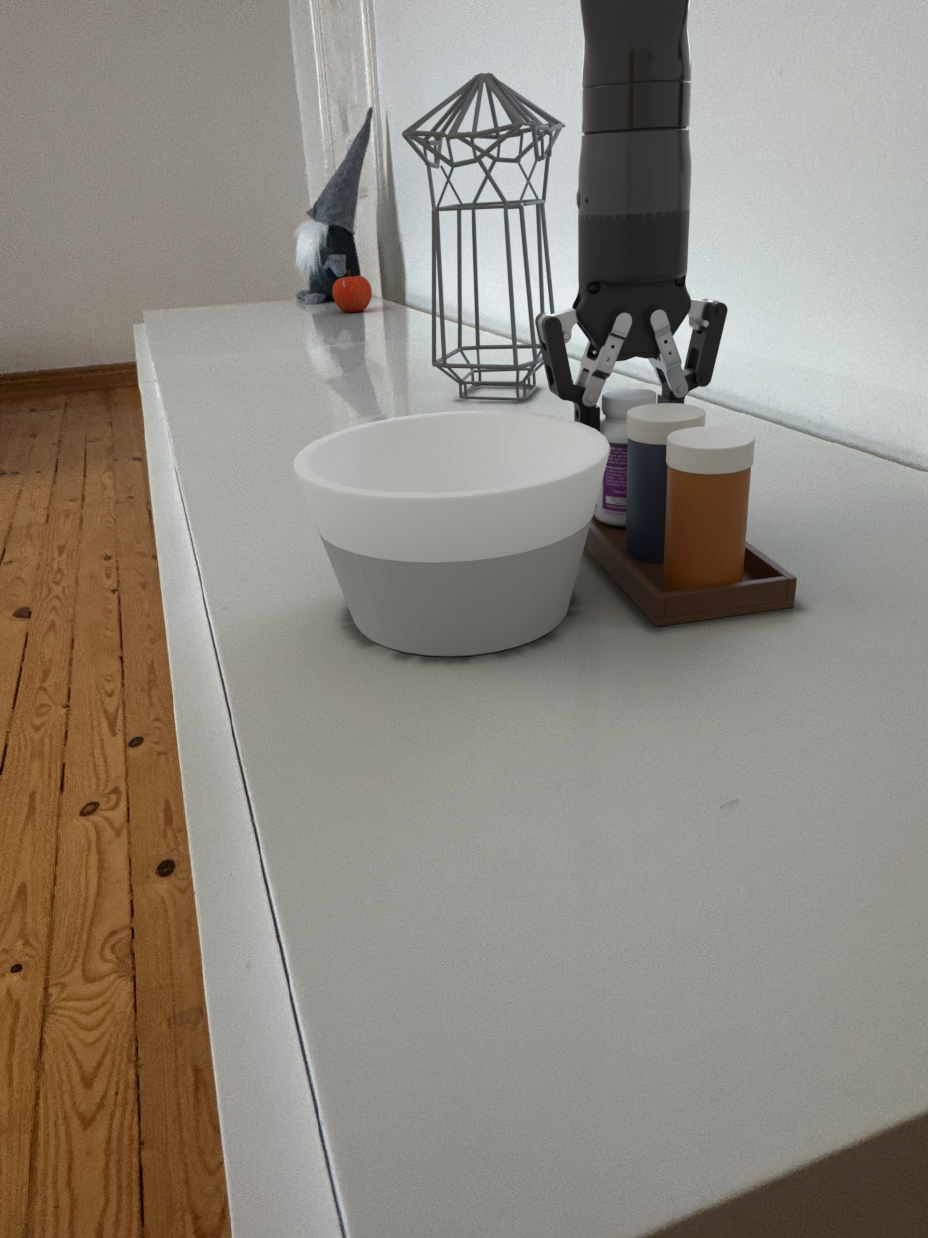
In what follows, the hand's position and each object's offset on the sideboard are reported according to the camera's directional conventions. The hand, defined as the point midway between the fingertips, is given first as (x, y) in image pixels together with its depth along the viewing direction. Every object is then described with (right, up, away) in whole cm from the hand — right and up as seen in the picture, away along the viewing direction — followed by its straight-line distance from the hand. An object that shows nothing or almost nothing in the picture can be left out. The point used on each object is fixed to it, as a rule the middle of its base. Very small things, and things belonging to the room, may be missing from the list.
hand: (628, 448), depth 73 cm
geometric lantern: (-8, +15, +48) cm, 51 cm away
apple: (-35, +50, +124) cm, 138 cm away
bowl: (-13, -12, -9) cm, 20 cm away
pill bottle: (0, -5, +2) cm, 6 cm away
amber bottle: (+3, -11, -10) cm, 15 cm away
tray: (+2, -8, -3) cm, 9 cm away
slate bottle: (+2, -8, -4) cm, 9 cm away
